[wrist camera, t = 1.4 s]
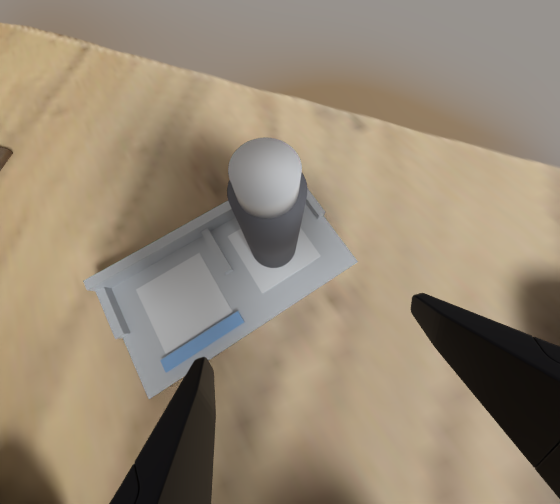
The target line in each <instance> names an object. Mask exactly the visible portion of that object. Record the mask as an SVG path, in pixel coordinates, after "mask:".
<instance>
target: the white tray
mask: <svg viewBox="0 0 560 504" xmlns="http://www.w3.org/2000/svg"><path fill="white" fill-rule="evenodd" d="M324 214H325V211H324V209H323V208H322V207H321V206H320V204H319V203H318V202H317V200H316V199H315V198H314V196H313V195H312V194H311V192H310V191H309V190H308V188H307V199H306V204H305V208H304V213H303V218H302V222H301V227H300V232H299V236H298V241H297V246H296V250H295V254H294V256H293V258H292V259H291V260H290V261H289V262H288V263H287V264H286V265H284V266H281V267H278V268H269V267H265V266H263V265H261V264H260V263H259V262H257V260H256V259H255V258H254V256H253V254H252V252H251V250H250V247H249V245H248V243H247V241H246V239H245V237H244V234H243V232H242V230H241V228H240V226H239V224H238V221H237V219H236V217H235V215H234V213H233V211H232V208H231V206H230V204H229V201H226V202H224V203H222V204H221V205H219V206H217V207H215V208H213V209H212V210H210V211H208V212H206V213H204V214H203V215H201V216H199V217H197V218H195V219H194V220H192V221H190V222H188V223H186V224H185V225H183V226H181V227H179V228H177V229H176V230H174V231H172V232H170V233H168V234H167V235H165V236H163V237H161V238H160V239H158V240H156V241H154V242H152V243H151V244H149V245H147V246H145V247H143V248H142V249H140V250H138V251H136V252H134V253H133V254H131V255H129V256H127V257H125V258H124V259H122V260H120V261H118V262H116V263H115V264H113V265H111V266H109V267H107V268H106V269H104V270H102V271H100V272H98V273H97V274H95V275H93V276H91V277H89V278H88V279H86V280H84V281H83V282H84V284H85V287H86V289H87V290H89V291H96V294H97V296H98V298H99V301H100V303H101V306H102V308H103V310H104V313H105V315H106V318H107V320H108V322H109V325H110V327H111V330H112V332H113V335H114V337H115V339H119V338H123V340H124V342H125V344H126V347H127V349H128V352H129V354H130V356H131V359H132V361H133V363H134V366H135V368H136V370H137V373H138V375H139V377H140V380H141V382H142V385H143V387H144V389H145V392H146V394H147V396H148V399H150V398H152V397H154V396H155V395H157V394H158V393H160V392H161V391H163V390H164V389H166V388H167V387H169V386H170V385H172V384H173V383H175V382H176V381H178V380H179V379H181V378H182V377H184V376H185V375H186V374H187V372H188V370H189V368H190V367H191V365H192V363H193V362H194V360H195V359H198V358H201V357H206V358H207V359H208V360H210V359H211V358H213V357H214V356H216V355H217V354H219V353H220V352H222V351H223V350H225V349H226V348H228V347H229V346H231V345H232V344H234V343H235V342H237V341H239V340H240V339H242V338H243V337H245V336H246V335H248V334H249V333H251V332H252V331H254V330H255V329H257V328H258V327H260V326H261V325H263V324H264V323H266V322H267V321H269V320H270V319H272V318H273V317H275V316H276V315H278V314H280V313H281V312H283V311H284V310H286V309H287V308H289V307H290V306H292V305H293V304H295V303H296V302H298V301H299V300H301V299H302V298H304V297H305V296H307V295H308V294H310V293H311V292H313V291H314V290H316V289H317V288H319V287H321V286H322V285H324V284H325V283H327V282H328V281H330V280H331V279H333V278H334V277H336V276H337V275H339V274H340V273H342V272H343V271H345V270H346V269H348V268H349V267H351V266H352V265H354V264H355V263H357V262H358V261H357V260H356V259H355V257H354V256H353V255H352V253H351V252H350V251H349V249H348V248H347V247H346V245H345V244H344V243H343V241H342V240H341V239H340V237H339V236H338V235H337V233H336V232H335V231H334V229H333V228H332V227H331V225H330V224H329V222H328V221H327V220H326V218H325V217H324Z"/></svg>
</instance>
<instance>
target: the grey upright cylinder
mask: <svg viewBox="0 0 560 504" xmlns="http://www.w3.org/2000/svg"><path fill="white" fill-rule="evenodd" d="M228 174H229V178H230V180H229V183H228V188H227V196H228V201H229V204H230V206H231V208H232V211H233V213H234V215H235V217H236V219H237V221H238V224H239V226H240V228H241V230H242V232H243V234H244V237H245V239H246V241H247V243H248V245H249V247H250V250H251V252H252V254H253V256H254V258H255V259H256V260H257V262H259V263H260V264H261V265H263V266H265V267H269V268H278V267H281V266H284V265H286V264H287V263H288V262H289V261H290V260H291V259H292V258H293V256H294V254H295V250H296V246H297V241H298V236H299V232H300V227H301V222H302V218H303V213H304V208H305V204H306V199H307V183H306V180H305V177H304V175H303V174H302V166H301V161H300V158H299V156H298V154H297V153H296V151H295V150H294V149H293V148H292V147H291V146H290V145H288V144H287V143H285V142H283V141H281V140H278V139H274V138H258V139H254V140H251V141H248V142H246V143H244V144H243V145H242V146H240V147H239V148H238V149H237V150H236V151H235V152H234V154H233V155H232V157H231V159H230V162H229V167H228Z"/></svg>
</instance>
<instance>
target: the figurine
mask: <svg viewBox="0 0 560 504" xmlns="http://www.w3.org/2000/svg"><path fill="white" fill-rule="evenodd" d="M12 154H13V152H12V151H10V150H8V149H6V148H3V147H0V170H1V169H2V168H3V166H4V165H5V163H6V162H7V161H8V159H9V158H10V157H11V155H12Z"/></svg>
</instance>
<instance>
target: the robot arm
mask: <svg viewBox="0 0 560 504" xmlns="http://www.w3.org/2000/svg"><path fill="white" fill-rule="evenodd" d="M411 312H412V314H413V316H414V317H415V319H416V320H417V322H418V323H419V325H420V326H421V328H422V329H423V331H424V332H425V334H426V335H427V337H428V338H429V340H430V341H431V343H432V344H433V345H434V347H435V348H436V349H437V350H438V352H439V353H440V354H441V355H442V357H443V358H444V359H445V360H446V361H447V363H448V364H449V365H450V366H451V367H452V369H453V370H454V371H455V372H456V374H457V375H458V376H459V377H460V378H461V380H462V381H463V382H464V383H465V384H466V386H467V387H468V388H469V389H470V390H471V392H472V393H473V394H474V395H475V397H476V398H477V399H478V400H479V401H480V403H481V404H482V405H483V406H484V407H485V409H486V410H487V411H488V412H489V414H490V415H491V416H492V417H493V418H494V420H495V421H496V422H497V423H498V424H499V426H500V427H501V428H502V429H503V430H504V432H505V433H506V434H507V435H508V437H509V438H510V439H511V440H512V441H513V443H514V444H515V445H516V446H517V447H518V449H519V450H520V451H521V452H522V454H523V455H524V456H525V457H526V458H527V460H528V461H529V462H530V463H531V464H532V466H533V467H535V470H536V471H537V472H538V473H539V474H540V476H541V477H542V478H543V479H544V480H545V482H546V483H547V484H548V485H549V487H550V488H551V489H552V490H553V491H554V493H555V494H556V495H557V496H558V497H559V499H560V346H557V345H554V344H552V343H549V342H546V341H544V340H541V339H539V338H536V337H532V336H531V335H529V334H526V333H524V332H521V331H518V330H516V329H513V328H511V327H508V326H506V325H503V324H501V323H498V322H496V321H493V320H491V319H488V318H486V317H483V316H480V315H478V314H475V313H473V312H470V311H468V310H465V309H463V308H460V307H458V306H455V305H453V304H450V303H447V302H445V301H442V300H440V299H437V298H435V297H432V296H430V295H427V294H425V293H419V294H416V295H413V297H412V302H411ZM215 419H216V409H215V389H214V372H213V368H212V366H211V365H210V363H209V361H208V359H207V358H206V357H201V358H198V359H195V360H194V362H193V363H192V365H191V367H190V368H189V370H188V372H187V374H186V375H185V377H184V379H183V380H182V382H181V384H180V385H179V387H178V389H177V391H176V392H175V394H174V396H173V397H172V399H171V401H170V402H169V404H168V406H167V408H166V409H165V411H164V413H163V414H162V416H161V418H160V419H159V421H158V423H157V425H156V426H155V428H154V430H153V431H152V433H151V435H150V437H149V438H148V440H147V442H146V443H145V445H144V447H143V448H142V450H141V452H140V454H139V455H138V457H137V459H136V460H135V464H133V465H132V467H131V469H130V470H129V472H128V474H127V475H126V477H125V479H124V480H123V482H122V484H121V485H120V487H119V489H118V490H117V492H116V494H115V495H114V497H113V499H112V500H111V502H110V503H109V504H211V495H212V476H213V457H214V438H215Z"/></svg>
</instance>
